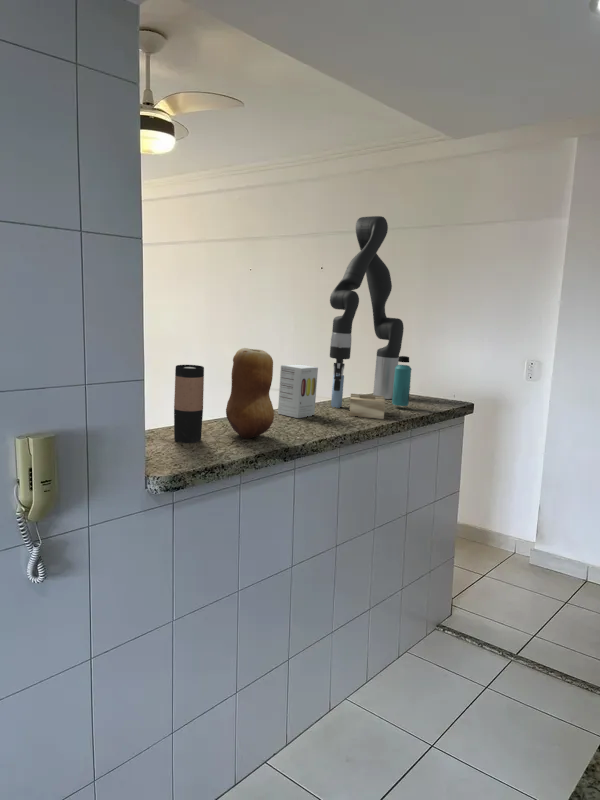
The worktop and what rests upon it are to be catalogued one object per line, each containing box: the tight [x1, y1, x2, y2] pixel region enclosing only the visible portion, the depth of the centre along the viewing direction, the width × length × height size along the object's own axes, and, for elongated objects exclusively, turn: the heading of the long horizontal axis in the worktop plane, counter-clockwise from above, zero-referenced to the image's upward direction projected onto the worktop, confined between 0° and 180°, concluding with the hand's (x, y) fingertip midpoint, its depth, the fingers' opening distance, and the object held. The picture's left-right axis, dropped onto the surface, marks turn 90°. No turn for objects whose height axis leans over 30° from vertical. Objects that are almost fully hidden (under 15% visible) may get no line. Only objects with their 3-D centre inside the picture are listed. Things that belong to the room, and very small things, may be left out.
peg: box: [330, 374, 345, 409], centre depth 220 cm, size 4×4×12 cm
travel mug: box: [173, 364, 205, 444], centre depth 159 cm, size 8×8×20 cm
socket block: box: [348, 393, 386, 420], centre depth 211 cm, size 12×12×6 cm
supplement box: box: [277, 363, 319, 419], centre depth 201 cm, size 10×9×17 cm
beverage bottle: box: [391, 355, 412, 407], centre depth 225 cm, size 6×7×20 cm
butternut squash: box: [225, 347, 275, 440], centre depth 166 cm, size 14×13×25 cm
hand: (337, 389), depth 220 cm, fingers open, 8 cm apart
